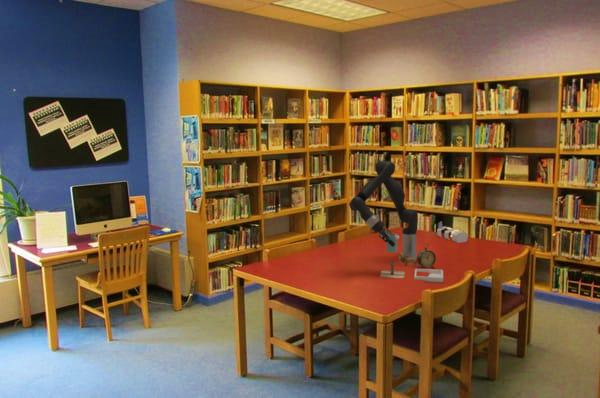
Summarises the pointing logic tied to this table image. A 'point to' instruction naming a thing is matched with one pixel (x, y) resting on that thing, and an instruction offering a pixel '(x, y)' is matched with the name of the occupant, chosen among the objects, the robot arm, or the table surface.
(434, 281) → the tray
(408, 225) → the robot arm
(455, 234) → the white black banded cylinder
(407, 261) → the lion figurine
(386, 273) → the stake base
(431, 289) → the table surface
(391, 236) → the blue grey tall block
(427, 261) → the alarm clock
